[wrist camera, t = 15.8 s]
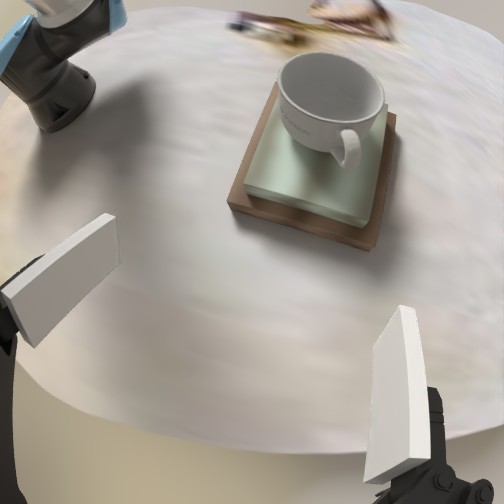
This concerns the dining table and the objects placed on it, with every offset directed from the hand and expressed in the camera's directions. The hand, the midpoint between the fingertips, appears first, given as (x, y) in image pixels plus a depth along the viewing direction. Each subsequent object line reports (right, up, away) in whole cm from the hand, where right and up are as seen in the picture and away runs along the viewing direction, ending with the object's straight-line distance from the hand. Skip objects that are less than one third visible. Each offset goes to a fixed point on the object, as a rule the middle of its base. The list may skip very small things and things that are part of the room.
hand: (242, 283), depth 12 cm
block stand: (+9, +13, +25) cm, 30 cm away
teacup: (+9, +15, +20) cm, 26 cm away
